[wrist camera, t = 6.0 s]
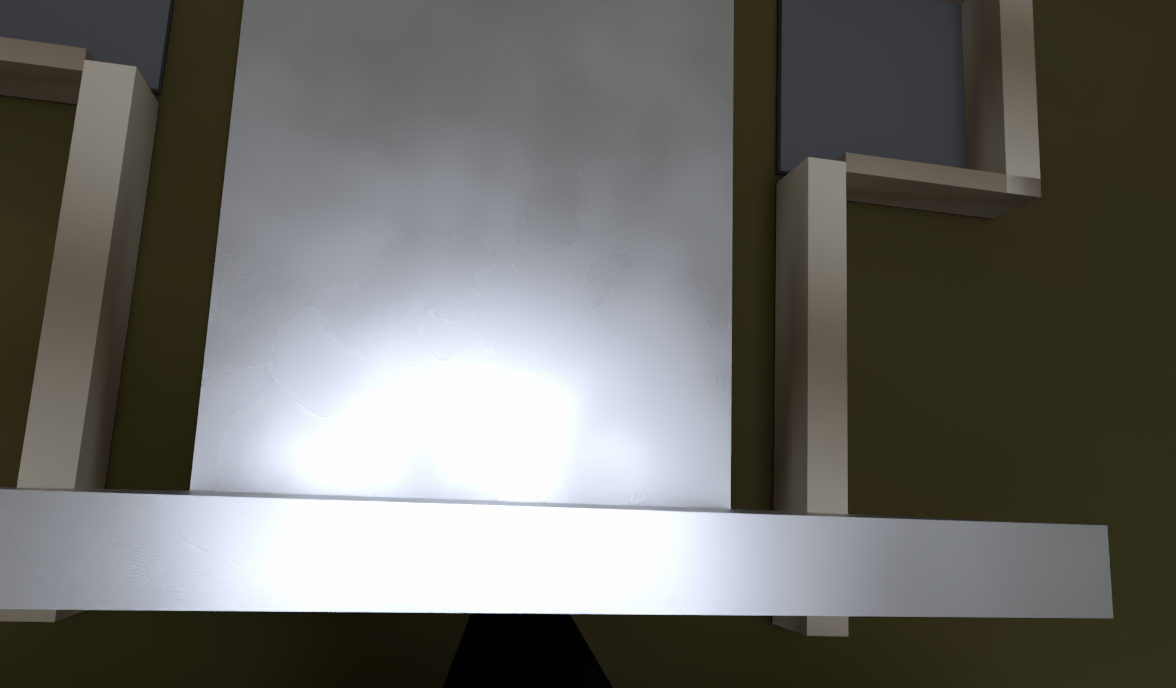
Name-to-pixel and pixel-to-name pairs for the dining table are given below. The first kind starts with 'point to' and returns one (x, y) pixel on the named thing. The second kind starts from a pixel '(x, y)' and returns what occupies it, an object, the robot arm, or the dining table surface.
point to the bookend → (493, 351)
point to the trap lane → (803, 200)
